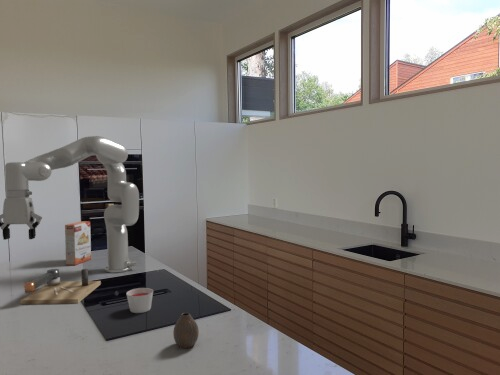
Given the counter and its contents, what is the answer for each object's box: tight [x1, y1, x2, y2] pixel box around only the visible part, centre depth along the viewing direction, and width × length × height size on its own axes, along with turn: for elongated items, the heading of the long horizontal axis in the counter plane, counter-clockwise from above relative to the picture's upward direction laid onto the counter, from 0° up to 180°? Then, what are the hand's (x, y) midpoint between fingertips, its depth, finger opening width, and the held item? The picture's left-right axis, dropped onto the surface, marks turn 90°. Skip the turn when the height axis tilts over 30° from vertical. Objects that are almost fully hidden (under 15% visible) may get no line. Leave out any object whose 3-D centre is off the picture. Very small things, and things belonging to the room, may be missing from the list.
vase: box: [172, 312, 199, 349], centre depth 110 cm, size 7×7×9 cm
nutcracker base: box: [19, 268, 102, 305], centre depth 157 cm, size 21×23×8 cm
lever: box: [23, 268, 60, 294], centre depth 155 cm, size 22×4×3 cm, turn 1°
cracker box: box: [64, 220, 92, 266], centre depth 209 cm, size 14×6×21 cm, turn 168°
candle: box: [126, 287, 154, 314], centre depth 138 cm, size 9×9×6 cm
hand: (19, 238), depth 153 cm, fingers open, 9 cm apart
